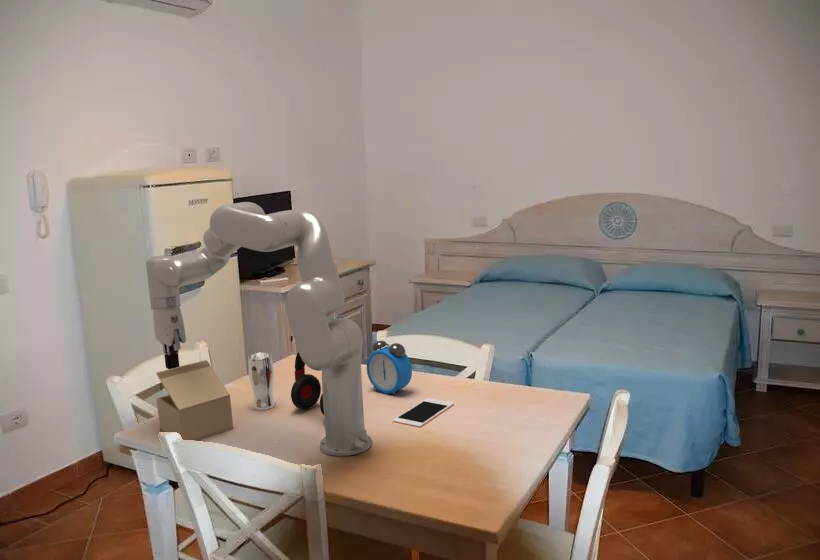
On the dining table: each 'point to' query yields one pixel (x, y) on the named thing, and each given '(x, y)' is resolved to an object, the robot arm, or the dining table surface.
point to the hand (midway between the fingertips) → (172, 367)
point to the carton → (195, 418)
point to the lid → (192, 385)
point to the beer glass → (261, 380)
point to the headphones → (305, 388)
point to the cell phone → (423, 412)
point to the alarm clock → (388, 367)
